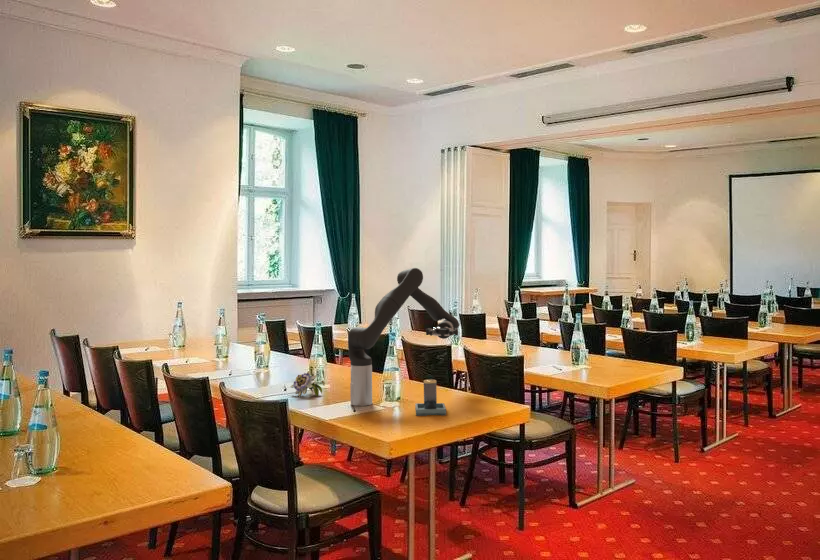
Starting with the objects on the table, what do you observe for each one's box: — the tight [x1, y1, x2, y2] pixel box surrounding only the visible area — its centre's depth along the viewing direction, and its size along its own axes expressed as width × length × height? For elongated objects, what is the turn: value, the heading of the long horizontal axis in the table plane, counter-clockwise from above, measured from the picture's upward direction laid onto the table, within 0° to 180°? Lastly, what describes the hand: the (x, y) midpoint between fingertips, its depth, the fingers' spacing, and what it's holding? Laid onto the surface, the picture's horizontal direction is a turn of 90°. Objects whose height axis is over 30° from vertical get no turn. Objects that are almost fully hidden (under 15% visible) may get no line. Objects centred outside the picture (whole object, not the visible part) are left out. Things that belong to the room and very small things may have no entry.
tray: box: [414, 402, 447, 417], centre depth 296 cm, size 12×12×2 cm
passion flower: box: [290, 370, 325, 398], centre depth 335 cm, size 13×12×14 cm
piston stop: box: [423, 379, 438, 409], centre depth 296 cm, size 5×5×12 cm
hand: (440, 333), depth 317 cm, fingers open, 8 cm apart
